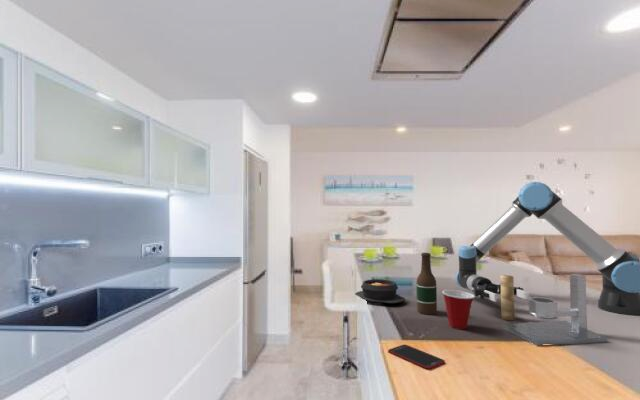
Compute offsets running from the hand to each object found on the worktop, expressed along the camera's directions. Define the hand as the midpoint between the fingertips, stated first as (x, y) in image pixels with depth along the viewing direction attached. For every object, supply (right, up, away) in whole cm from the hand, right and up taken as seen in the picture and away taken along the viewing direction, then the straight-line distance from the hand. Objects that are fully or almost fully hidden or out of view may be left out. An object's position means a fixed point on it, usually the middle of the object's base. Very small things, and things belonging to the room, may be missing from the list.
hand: (512, 297), depth 129 cm
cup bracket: (+5, -8, -15) cm, 18 cm away
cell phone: (-45, -9, -31) cm, 56 cm away
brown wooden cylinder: (0, -9, +3) cm, 9 cm away
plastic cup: (-22, -9, -6) cm, 25 cm away
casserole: (-44, -10, +31) cm, 55 cm away
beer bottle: (-28, -10, +12) cm, 32 cm away
